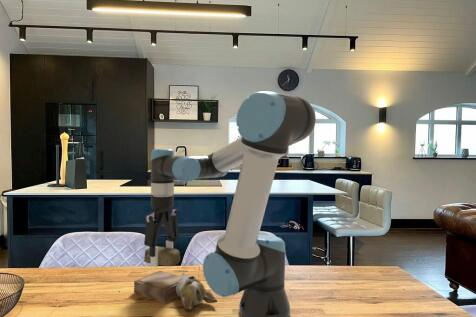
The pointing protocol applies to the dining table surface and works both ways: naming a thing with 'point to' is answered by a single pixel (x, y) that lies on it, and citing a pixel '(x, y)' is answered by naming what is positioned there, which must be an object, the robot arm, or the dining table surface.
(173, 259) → the stone block
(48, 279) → the dining table surface
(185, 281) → the ceramic sculpture
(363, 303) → the dining table surface
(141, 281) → the walnut box
